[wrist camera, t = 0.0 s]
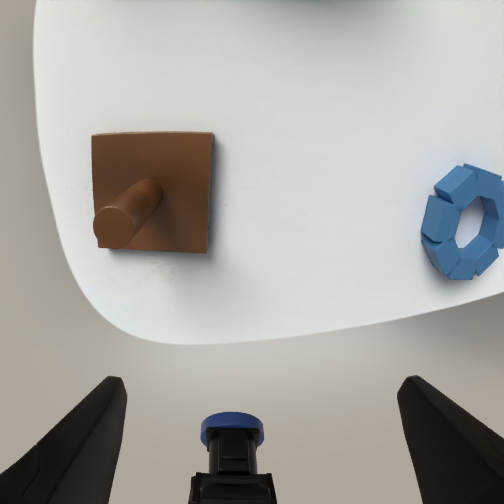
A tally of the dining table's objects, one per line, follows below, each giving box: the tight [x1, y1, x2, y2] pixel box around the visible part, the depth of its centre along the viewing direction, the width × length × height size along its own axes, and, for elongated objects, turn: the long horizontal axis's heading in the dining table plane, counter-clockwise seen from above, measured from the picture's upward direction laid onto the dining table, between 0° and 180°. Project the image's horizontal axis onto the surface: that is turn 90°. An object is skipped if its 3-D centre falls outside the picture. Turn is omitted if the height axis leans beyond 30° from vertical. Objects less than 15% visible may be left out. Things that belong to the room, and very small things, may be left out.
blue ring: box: [421, 164, 504, 280], centre depth 23 cm, size 11×11×2 cm
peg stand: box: [92, 131, 213, 254], centre depth 18 cm, size 9×9×8 cm
